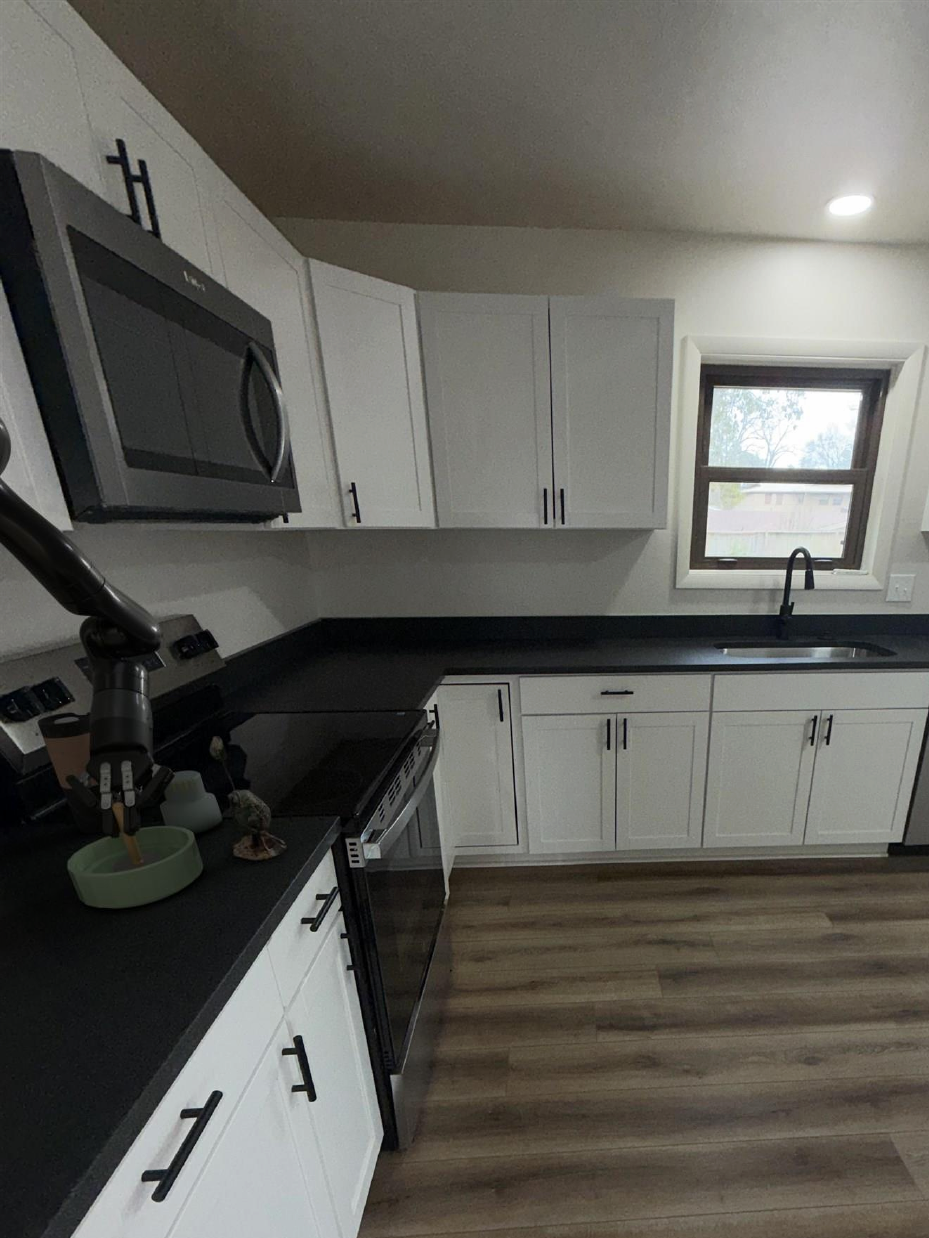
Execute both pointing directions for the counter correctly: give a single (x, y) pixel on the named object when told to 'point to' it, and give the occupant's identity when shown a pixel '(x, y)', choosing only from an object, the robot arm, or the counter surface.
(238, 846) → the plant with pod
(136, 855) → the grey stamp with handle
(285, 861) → the counter surface
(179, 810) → the air freshener
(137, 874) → the bowl
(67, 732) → the travel mug
